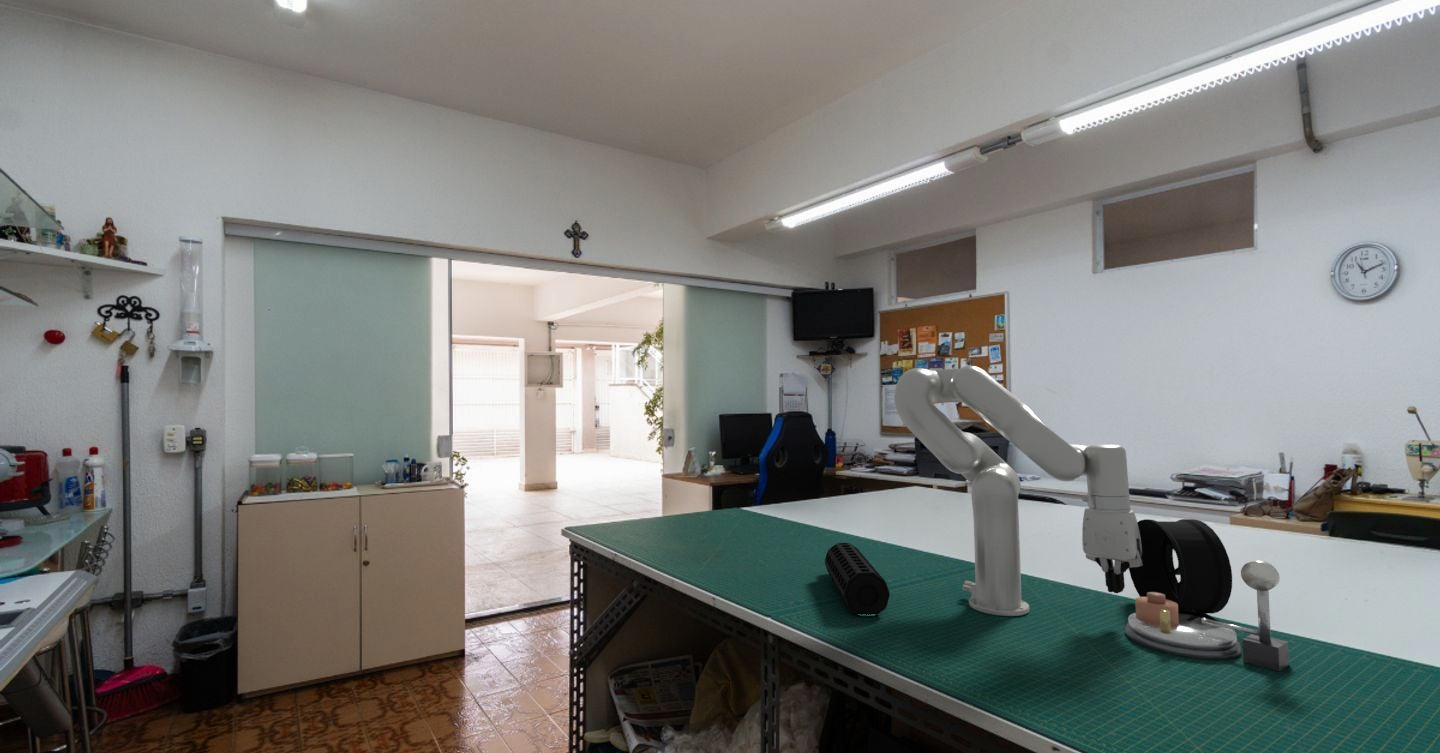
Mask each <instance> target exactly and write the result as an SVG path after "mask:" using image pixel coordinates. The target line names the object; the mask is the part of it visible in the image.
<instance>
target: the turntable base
mask: <svg viewBox="0 0 1440 753" xmlns="http://www.w3.org/2000/svg"><path fill="white" fill-rule="evenodd" d="M1125 635H1126V636H1127V637H1128V638H1129V639H1130V640H1131V641H1133V642H1134V643H1136V644H1138V645H1141V646H1143V647H1145V648H1149V649H1151V650H1153V651H1158V652H1161V653H1164V654H1169V655H1172V656H1173V655H1174V656H1176V657H1183V658H1184V657H1185V658H1189V659H1190V658H1191V659H1198V660H1209V661H1210V660H1213V661H1215V660H1218V661H1220V660H1223V661H1224V660H1230V659H1236V658H1237V657H1239V656H1240V655H1241V654H1242V647H1241V646H1242V644H1241V643H1240V641H1239V640H1237V645H1236V646H1235V647H1233V648H1230V649H1225V650H1200V649H1190V648H1183V647H1178V646H1173V645H1168V644H1164V643H1160V642H1157V641H1154V640H1151V639H1148V638H1145V637H1143V636H1140V635H1138V634H1137V633H1135V632H1133V631H1132V630H1131V629H1130V628H1129V623H1128V622H1127V624H1125Z"/></svg>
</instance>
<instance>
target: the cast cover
mask: <svg viewBox="0 0 1440 753" xmlns="http://www.w3.org/2000/svg"><path fill="white" fill-rule="evenodd" d="M1134 599H1135V601H1134V602H1135V613H1136V618H1137V619H1139V620H1141V621H1143V622H1146V623H1150V624H1155V625H1160V610H1161V609H1163V610H1168V611H1170V626H1174V625H1178V624H1179V618H1178V613H1179V611H1178V604H1177V603H1175V602H1173V601H1170V600H1167V599H1165V595H1164V594H1161V593H1156V592H1148V593H1147V597H1140V596H1137V597H1136V598H1134Z"/></svg>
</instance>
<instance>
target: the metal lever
mask: <svg viewBox="0 0 1440 753" xmlns="http://www.w3.org/2000/svg"><path fill="white" fill-rule="evenodd" d="M1240 577H1241V579H1242V580H1243V582H1244V584H1245V585H1247V586H1248V587H1249V588H1251V589H1253V590H1256V598H1257V599H1256V602H1257V621H1258V624H1257V625H1258V630H1256V629H1252V628H1248V627H1244V626H1241V625H1240V626H1238V625H1236V624H1235V625H1234V624H1231V623H1225V622H1221V621H1218V620H1217V621H1216V620H1213V619H1210V618H1206V617H1201V618H1202V619H1201V621H1202V623H1207V624H1211V625H1216V626H1220V627H1224V628H1229V629H1232V630H1234V631H1238V632H1243V633H1246V634H1249V635H1247V636H1245V637H1244V638H1242V639H1241V640H1242V661H1243V663H1245V664H1249V665H1253V666H1257V667H1261V668H1263V669H1268V670H1272V671H1276V672H1279V673H1280V672H1281V671H1283V669H1286V668H1287V667H1288V666H1289V665H1290V658H1289V657H1290V656H1289V654H1290V653H1289V651H1290V650H1289V641H1287V640H1283V639H1278V638H1274V637H1272V635H1271V634H1272V633H1271V631H1272V630H1271V615H1270V614H1271V613H1270V611H1271V610H1270V592H1269V591H1270V590H1272V589H1274V588H1276V587H1277V586H1278V585H1279V583H1280V580H1281V578H1280V577H1281V576H1280V573H1279V572H1278V570H1277V568H1276V567H1275V566H1274V565H1272V564H1271V563H1269V562H1267V561H1263V560H1259V559H1257V560H1251V561H1249V562H1247V563H1245V564H1243V566H1242V567H1241V569H1240Z"/></svg>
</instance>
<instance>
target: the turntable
mask: <svg viewBox="0 0 1440 753" xmlns="http://www.w3.org/2000/svg"><path fill="white" fill-rule="evenodd" d="M1178 618H1179V624H1178V625H1174V626H1170V611H1168V610H1163V609H1161V610H1160V625H1155V624H1150V623H1146V622H1143V621H1141V620H1139V619H1137V618H1136V612H1133V613H1131V614H1129V615H1128V620H1127V621H1128V622H1127V623H1129V628H1130V629H1131V630H1132V631H1133V632H1135V633H1137V634H1138V635H1140V636H1143V637H1145V638H1148V639H1151V640H1154V641H1157V642H1160V643H1164V644H1168V645H1173V646H1178V647H1183V648H1190V649H1200V650H1225V649H1230V648H1233V647H1235V646H1236V645H1237V641H1238V634H1237V632H1236V630H1233V629H1229V628H1224V627H1220V626H1216V625H1211V624H1207V623H1202V621H1201V619H1202V618H1203V617H1200V616H1197V615H1192V614H1186V613H1179V612H1178Z"/></svg>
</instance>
